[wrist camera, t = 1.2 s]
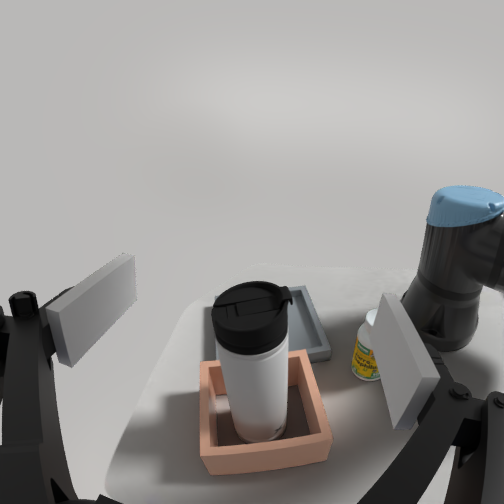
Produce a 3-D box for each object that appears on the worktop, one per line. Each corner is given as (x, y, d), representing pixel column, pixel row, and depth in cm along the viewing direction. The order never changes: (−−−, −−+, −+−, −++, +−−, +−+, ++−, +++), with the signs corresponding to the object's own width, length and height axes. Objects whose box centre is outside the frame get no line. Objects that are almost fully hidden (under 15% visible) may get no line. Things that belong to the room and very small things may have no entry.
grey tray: (304, 295, 57) (305, 285, 56) (330, 359, 43) (331, 349, 42) (216, 305, 56) (214, 296, 55) (218, 375, 42) (216, 365, 41)
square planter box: (303, 378, 40) (305, 349, 37) (326, 460, 29) (333, 438, 26) (208, 389, 40) (200, 361, 37) (210, 475, 28) (200, 455, 25)
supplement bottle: (391, 362, 41) (407, 312, 36) (378, 387, 37) (394, 338, 32) (359, 349, 44) (370, 299, 39) (343, 373, 40) (353, 323, 36)
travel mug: (294, 440, 32) (302, 316, 22) (238, 450, 31) (210, 330, 22) (283, 400, 37) (282, 270, 28) (232, 409, 37) (206, 281, 27)
